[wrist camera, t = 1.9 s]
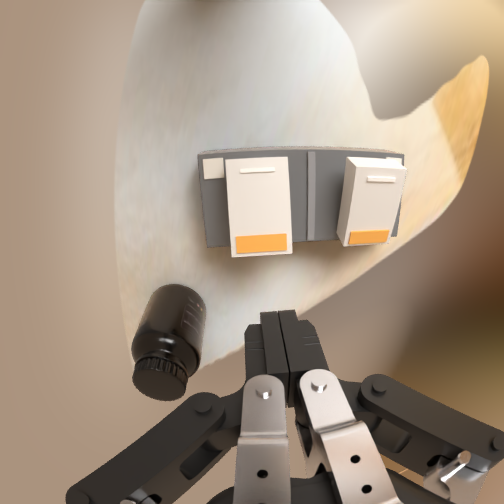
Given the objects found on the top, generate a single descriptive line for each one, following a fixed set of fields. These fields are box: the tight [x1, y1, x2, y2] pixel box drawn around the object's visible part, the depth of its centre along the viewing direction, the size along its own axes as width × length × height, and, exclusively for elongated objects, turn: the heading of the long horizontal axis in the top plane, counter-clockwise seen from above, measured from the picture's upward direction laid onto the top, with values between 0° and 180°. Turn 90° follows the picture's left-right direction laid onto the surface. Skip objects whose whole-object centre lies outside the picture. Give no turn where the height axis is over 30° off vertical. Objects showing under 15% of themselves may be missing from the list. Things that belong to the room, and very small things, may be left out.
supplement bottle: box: [131, 284, 206, 401], centre depth 26 cm, size 7×7×12 cm
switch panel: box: [198, 147, 404, 248], centre depth 24 cm, size 8×18×4 cm, turn 93°
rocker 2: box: [336, 157, 407, 246], centre depth 20 cm, size 7×4×2 cm, turn 3°
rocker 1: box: [225, 157, 292, 257], centre depth 20 cm, size 7×4×2 cm, turn 3°
